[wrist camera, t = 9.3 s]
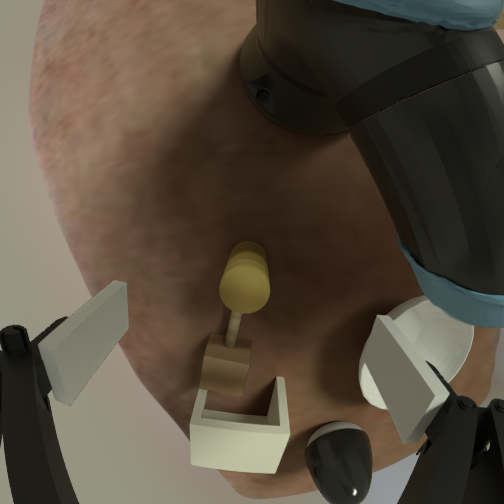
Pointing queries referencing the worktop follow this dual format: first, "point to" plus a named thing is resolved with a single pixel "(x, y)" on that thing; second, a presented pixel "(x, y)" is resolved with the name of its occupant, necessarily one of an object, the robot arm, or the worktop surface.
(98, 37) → the worktop surface
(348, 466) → the pump dispenser
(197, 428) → the cream u-shaped stand
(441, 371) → the bowl
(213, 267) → the worktop surface
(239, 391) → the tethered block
